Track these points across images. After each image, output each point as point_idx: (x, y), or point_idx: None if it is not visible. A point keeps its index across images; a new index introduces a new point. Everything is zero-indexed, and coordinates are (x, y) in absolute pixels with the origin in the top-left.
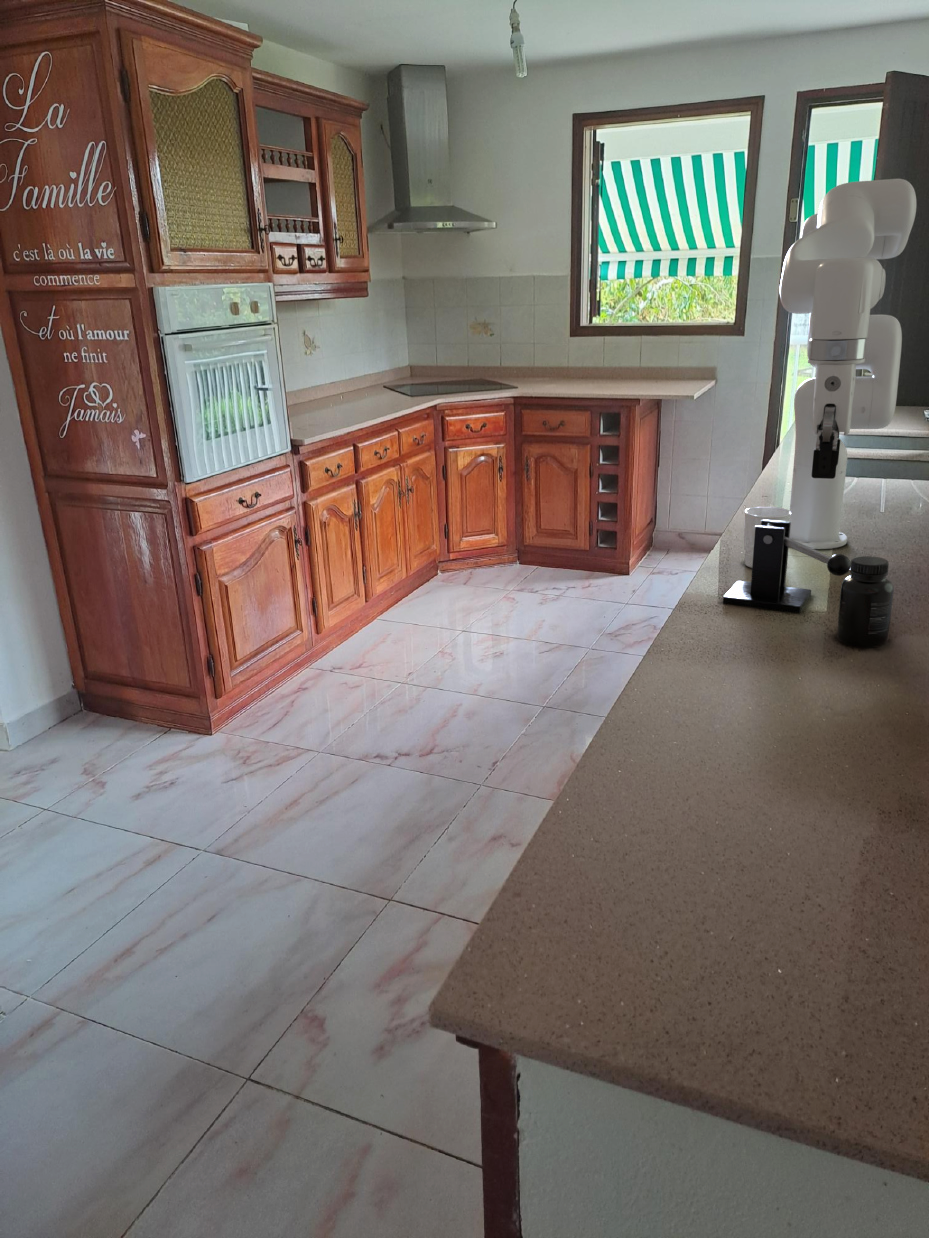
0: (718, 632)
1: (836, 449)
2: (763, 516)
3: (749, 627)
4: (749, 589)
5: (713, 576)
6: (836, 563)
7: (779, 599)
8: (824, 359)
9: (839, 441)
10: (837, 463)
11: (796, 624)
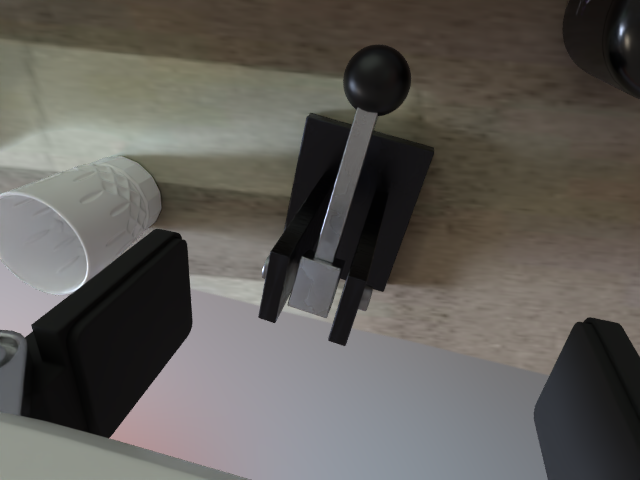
0: (554, 304)
1: (126, 304)
2: (18, 237)
3: (525, 251)
4: None
5: (228, 285)
6: (404, 94)
7: (388, 191)
8: None
9: (68, 327)
10: (173, 237)
11: (505, 159)
